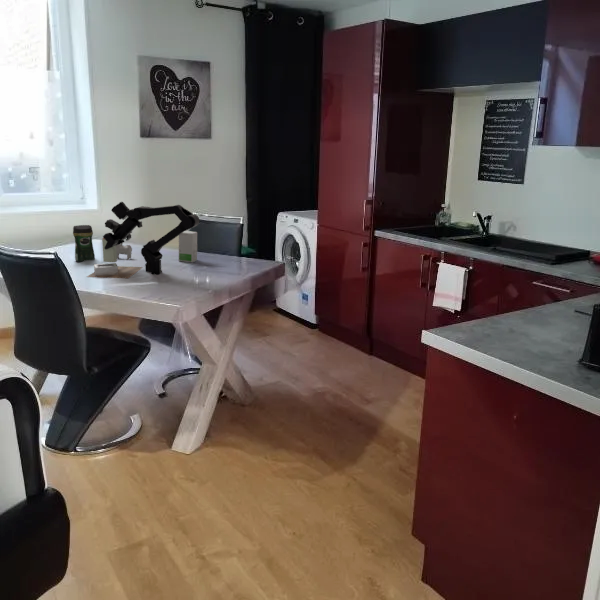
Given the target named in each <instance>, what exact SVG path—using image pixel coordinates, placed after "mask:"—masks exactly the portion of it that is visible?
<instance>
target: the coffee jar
mask: <svg viewBox="0 0 600 600" xmlns="http://www.w3.org/2000/svg"><path fill="white" fill-rule="evenodd" d="M72 234H73V235H72V236H74V245H75V246H74V249H75V250H74V261H76V262H79V263H83V262H86V261H94V260H96V256H95V250H94V245H93V234H94V232H93V227H92V225H90V224H82V225H74V226H73V228H72Z"/></svg>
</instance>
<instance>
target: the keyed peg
mask: <svg viewBox="0 0 600 600" xmlns="http://www.w3.org/2000/svg"><path fill="white" fill-rule="evenodd" d="M106 243H107V241H106V240H105V239H104V238H103V237H102V242H101V244H102V258H103V262H104V263H116V262H118V258H117V253H116V246H113V247H111V248H109V249H107V250H105V246H106Z"/></svg>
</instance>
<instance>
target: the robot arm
mask: <svg viewBox="0 0 600 600" xmlns="http://www.w3.org/2000/svg"><path fill="white" fill-rule="evenodd" d="M111 212H112V213H113V214H114V215H115V216H116V218H117V219H118V220H123V221H122V223H120V222H118V221H115V220H114V219H107V220H106V221H105V222H104V226H105V228H108V229H109V230H111V232H107V233H105V234H104V235H102V239H103V238H104V239H105V240H106V241H107V243H106V246H105V250H107V249H109V248H111V247H113V246H116V245H119V244H121V243H123V244H124V243H125V241H127V242H128V241H130V240H131V239H132V235H131V234H132V233H133V230H134V229H136V227H137V228H138V229H140V228H142V227H143V221H142V220H143V219H146V218H147V219H148V218H150V217H155V216H166V215H175V216H176V217H177V218H178V220H180V221H179V224H178V225H177V226H176V227H174V228H173V229H171V230H170V231H168V232H167V233H166V234H164V235H163V236H162V237H160V238H159V239H157V240H155V239H152V240H149V241H148V242H147V243H146V244H143V245H142V248H141V249H140V253H141V256H142V257H143V258H144V261H145V262H146V263H145V265H144V267H145V273H146V272H147V273H151V274H152V275H160V274H161V273H163V270H162V258H163V254H162V252H160V251H161V250H162V249H163V248H164V247H165V245H167V244H169V243H170V242H171V241H173V240H174V239H175V238H177V237H179V235H180V234H181V233H183V232H184V231H189V230H191V229H192V228H195V227H197V226H199V224H200V218H199V216H198V215H197V214H195V213H193V212H191V211H189V210H188V209H186V208H185V207H183V206H182V205H181V204H176V205H168V206H167V205H166V206H158V207H151V206H143V205H142V206H138V207H137V206H136V207H134V208H132V209H130V208H129V207H128V206H127V205H126V204H125V203H124V202H123V201H120V202H119V203H117V204H116V205H114V206H113V207H112V208H111ZM140 220H141V221H140Z"/></svg>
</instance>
